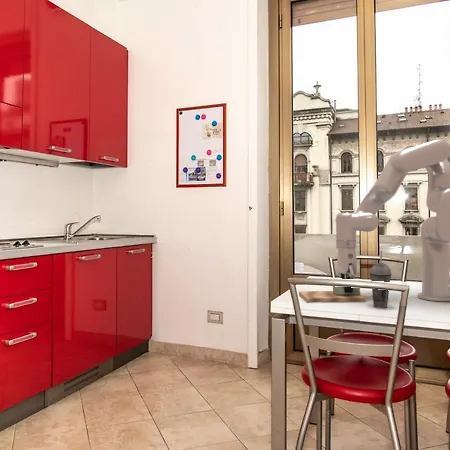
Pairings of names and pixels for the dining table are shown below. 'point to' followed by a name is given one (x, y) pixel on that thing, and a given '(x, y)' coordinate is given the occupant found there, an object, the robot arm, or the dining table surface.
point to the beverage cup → (380, 274)
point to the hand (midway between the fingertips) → (346, 290)
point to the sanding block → (340, 292)
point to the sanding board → (329, 297)
